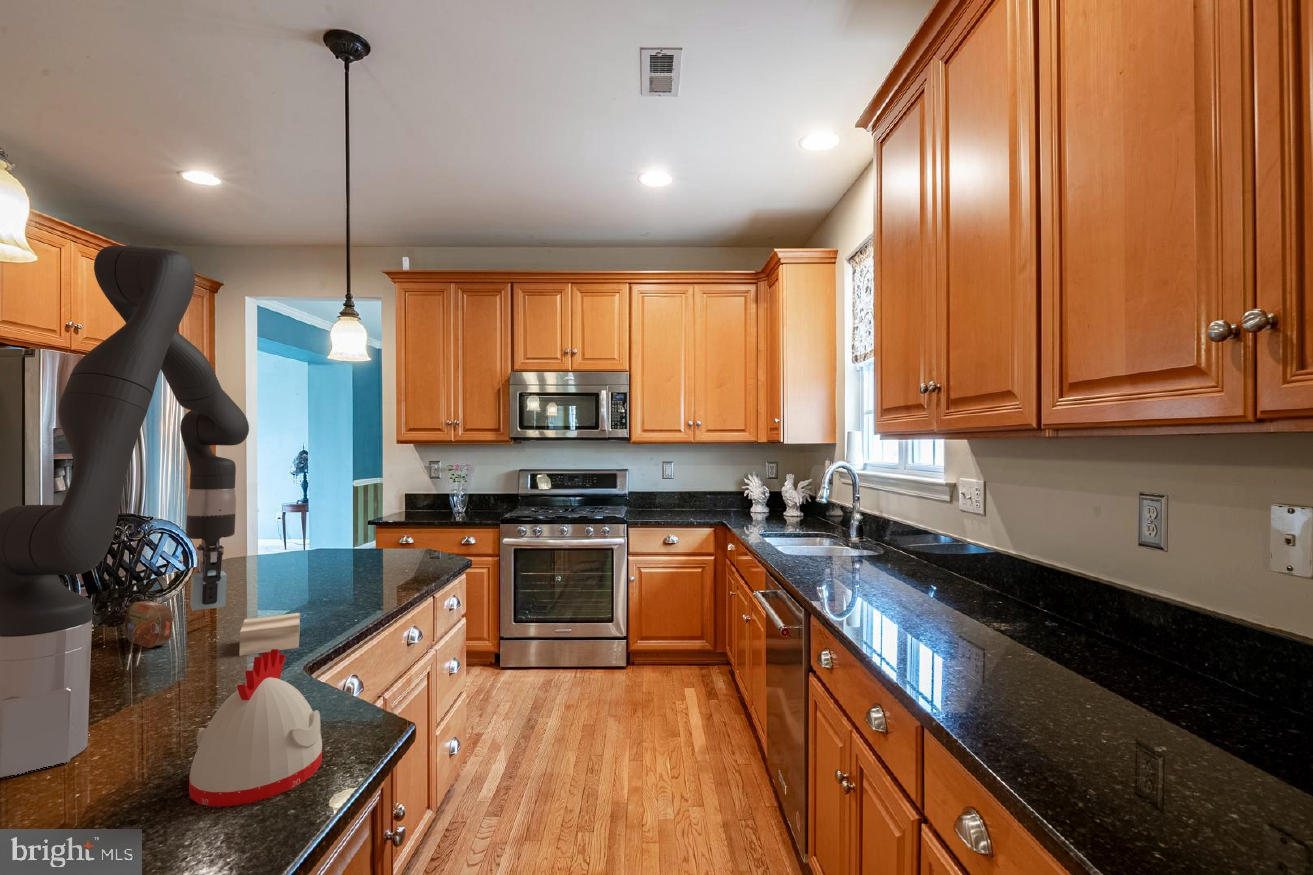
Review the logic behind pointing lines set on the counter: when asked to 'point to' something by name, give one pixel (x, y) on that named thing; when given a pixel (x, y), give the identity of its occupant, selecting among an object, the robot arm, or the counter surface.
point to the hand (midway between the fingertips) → (207, 600)
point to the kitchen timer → (256, 740)
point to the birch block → (269, 633)
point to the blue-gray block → (198, 588)
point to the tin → (148, 624)
